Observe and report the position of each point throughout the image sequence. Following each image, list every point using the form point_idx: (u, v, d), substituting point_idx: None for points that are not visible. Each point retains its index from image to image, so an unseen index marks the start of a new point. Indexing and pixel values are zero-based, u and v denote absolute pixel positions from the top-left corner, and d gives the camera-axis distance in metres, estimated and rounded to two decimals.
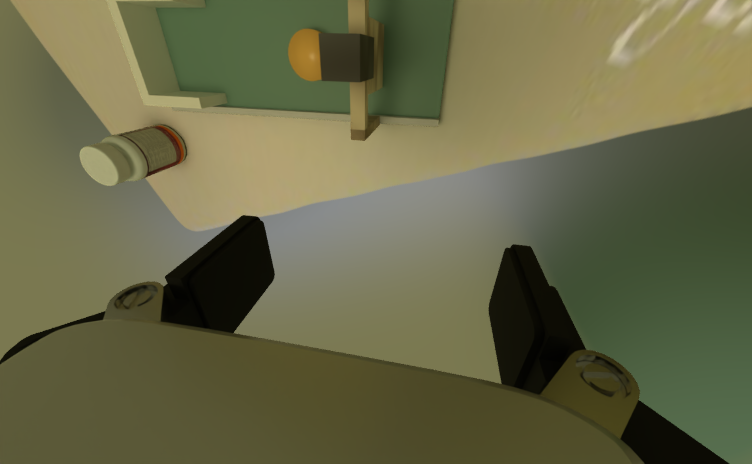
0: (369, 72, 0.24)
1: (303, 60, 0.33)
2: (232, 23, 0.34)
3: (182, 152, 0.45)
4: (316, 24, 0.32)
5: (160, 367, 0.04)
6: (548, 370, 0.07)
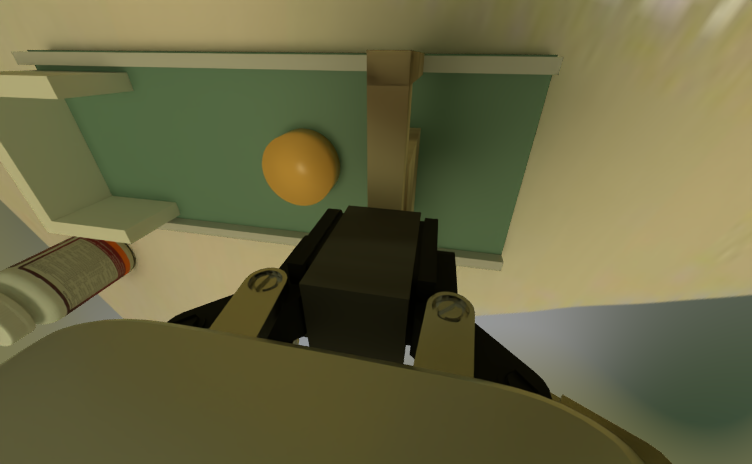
0: None
1: (288, 178, 0.20)
2: (175, 113, 0.22)
3: (127, 263, 0.33)
4: (307, 120, 0.20)
5: (160, 367, 0.04)
6: (419, 309, 0.08)
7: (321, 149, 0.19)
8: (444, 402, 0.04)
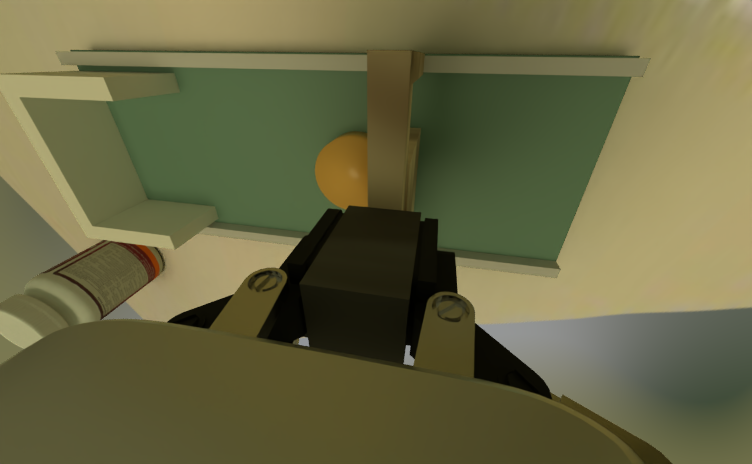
0: None
1: (341, 183, 0.20)
2: (222, 115, 0.21)
3: (157, 268, 0.32)
4: (362, 123, 0.19)
5: (160, 367, 0.04)
6: (419, 309, 0.08)
7: None
8: (444, 402, 0.04)
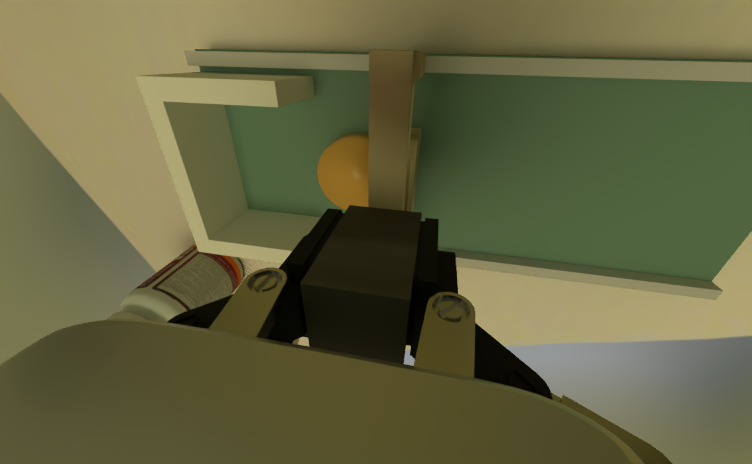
0: None
1: (344, 184, 0.20)
2: (359, 122, 0.19)
3: (239, 279, 0.30)
4: (523, 132, 0.18)
5: (160, 367, 0.04)
6: (420, 309, 0.08)
7: None
8: (444, 402, 0.04)
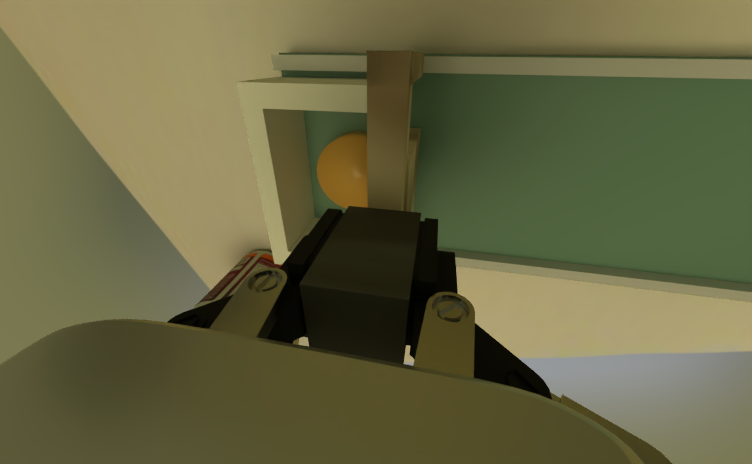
0: None
1: (343, 182, 0.20)
2: (449, 127, 0.18)
3: None
4: (633, 137, 0.17)
5: (160, 367, 0.04)
6: (419, 309, 0.08)
7: None
8: (444, 402, 0.04)
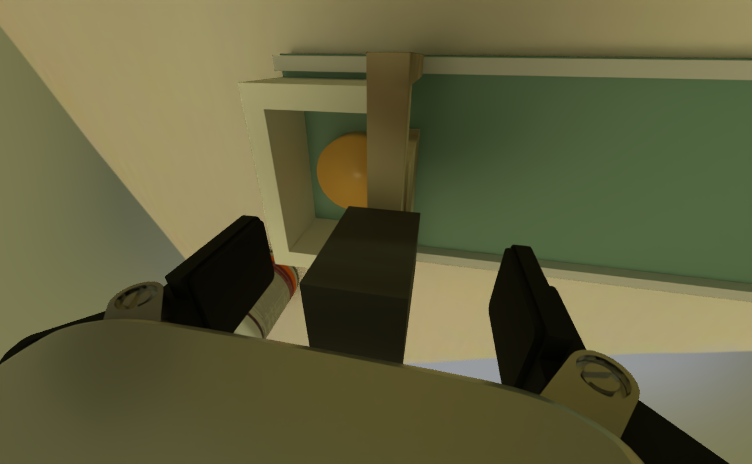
0: (412, 287, 0.12)
1: (343, 183, 0.20)
2: (450, 127, 0.19)
3: (295, 289, 0.29)
4: (632, 137, 0.17)
5: (160, 367, 0.04)
6: (548, 370, 0.07)
7: None
8: (444, 402, 0.04)
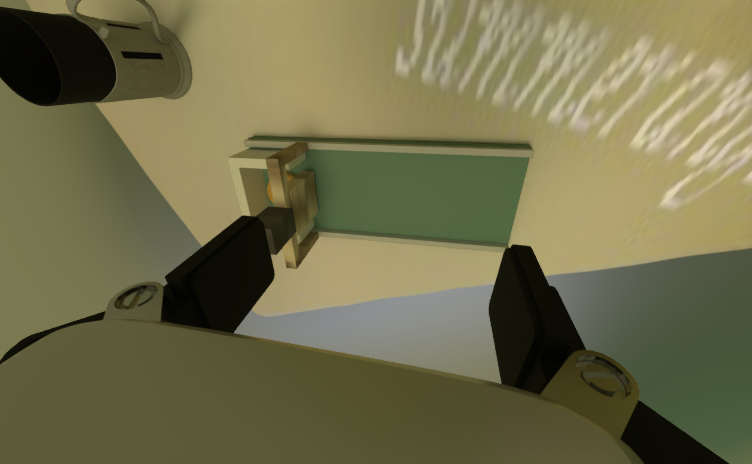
0: (289, 234, 0.32)
1: None
2: (327, 170, 0.40)
3: None
4: (403, 174, 0.38)
5: (160, 367, 0.04)
6: (548, 370, 0.07)
7: None
8: (444, 402, 0.04)
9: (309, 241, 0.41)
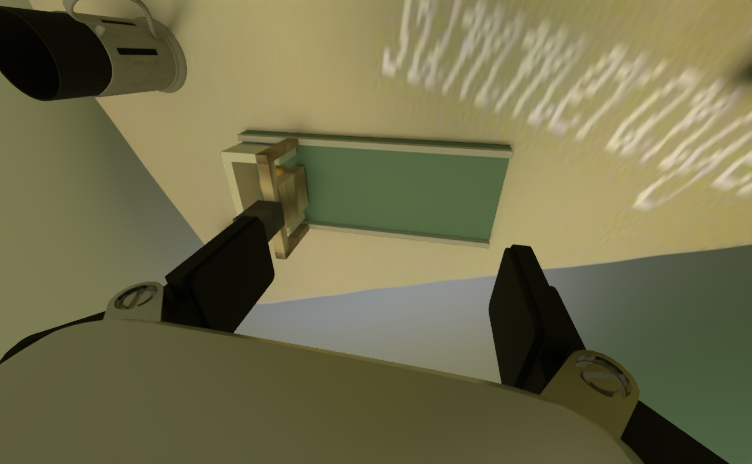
0: (277, 227, 0.34)
1: None
2: (317, 165, 0.41)
3: None
4: (390, 171, 0.40)
5: (160, 367, 0.04)
6: (548, 370, 0.07)
7: None
8: (444, 402, 0.04)
9: (299, 233, 0.43)
